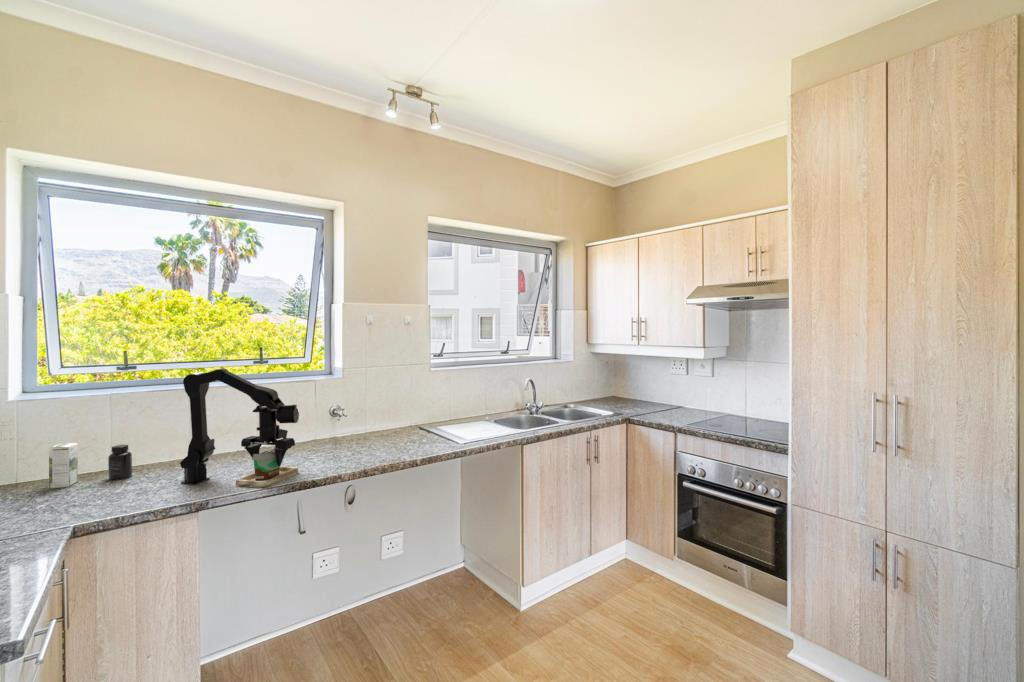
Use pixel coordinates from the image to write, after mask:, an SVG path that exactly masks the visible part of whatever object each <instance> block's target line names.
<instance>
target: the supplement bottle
mask: <svg viewBox="0 0 1024 682" xmlns="http://www.w3.org/2000/svg"><path fill="white" fill-rule="evenodd" d="M110 452H111V453H110V454H109V455H108V458H107V461H108V463H107V464H108V465H107V466H108V468H107V469H108V479H109V480H110V481H119V480H120V481H121V480H125V479H129V478H131V477H132V476H133V453H132V452H130V451H129V444H117V445H113V446H111V451H110Z"/></svg>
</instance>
